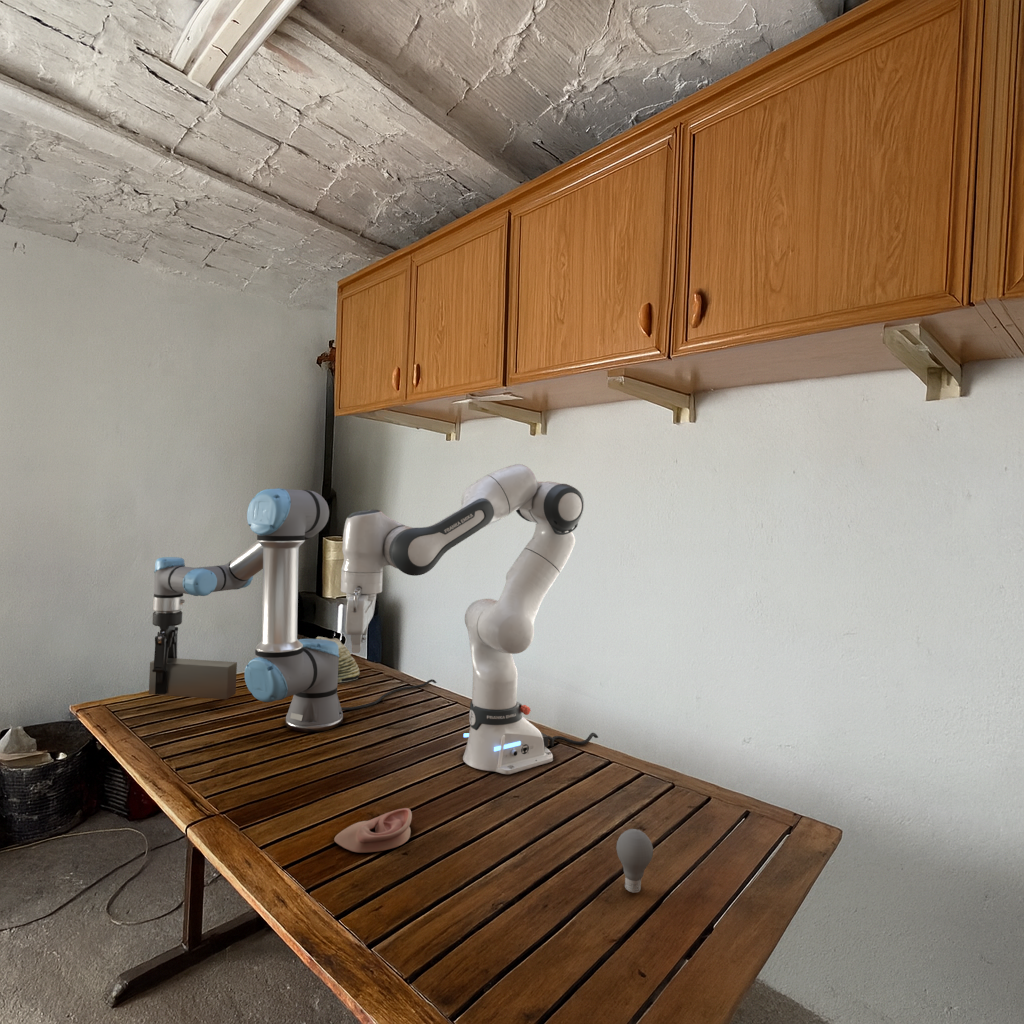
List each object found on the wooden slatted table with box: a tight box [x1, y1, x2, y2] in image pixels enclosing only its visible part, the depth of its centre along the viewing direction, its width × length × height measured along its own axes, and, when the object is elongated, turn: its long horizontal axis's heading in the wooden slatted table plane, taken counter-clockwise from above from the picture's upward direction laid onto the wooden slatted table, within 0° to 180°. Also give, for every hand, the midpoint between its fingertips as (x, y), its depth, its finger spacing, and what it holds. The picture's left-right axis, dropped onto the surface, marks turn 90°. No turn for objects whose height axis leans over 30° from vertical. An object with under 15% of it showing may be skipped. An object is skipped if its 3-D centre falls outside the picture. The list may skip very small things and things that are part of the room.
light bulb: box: [615, 828, 654, 894], centre depth 106 cm, size 6×6×10 cm
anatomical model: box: [333, 807, 413, 854], centre depth 119 cm, size 13×4×12 cm
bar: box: [148, 657, 238, 700], centre depth 183 cm, size 23×5×9 cm, turn 88°
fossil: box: [315, 636, 361, 683], centre depth 216 cm, size 9×18×15 cm, turn 132°
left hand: (164, 689), depth 183 cm, fingers closed on bar, 6 cm apart
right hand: (359, 646), depth 138 cm, fingers open, 8 cm apart
